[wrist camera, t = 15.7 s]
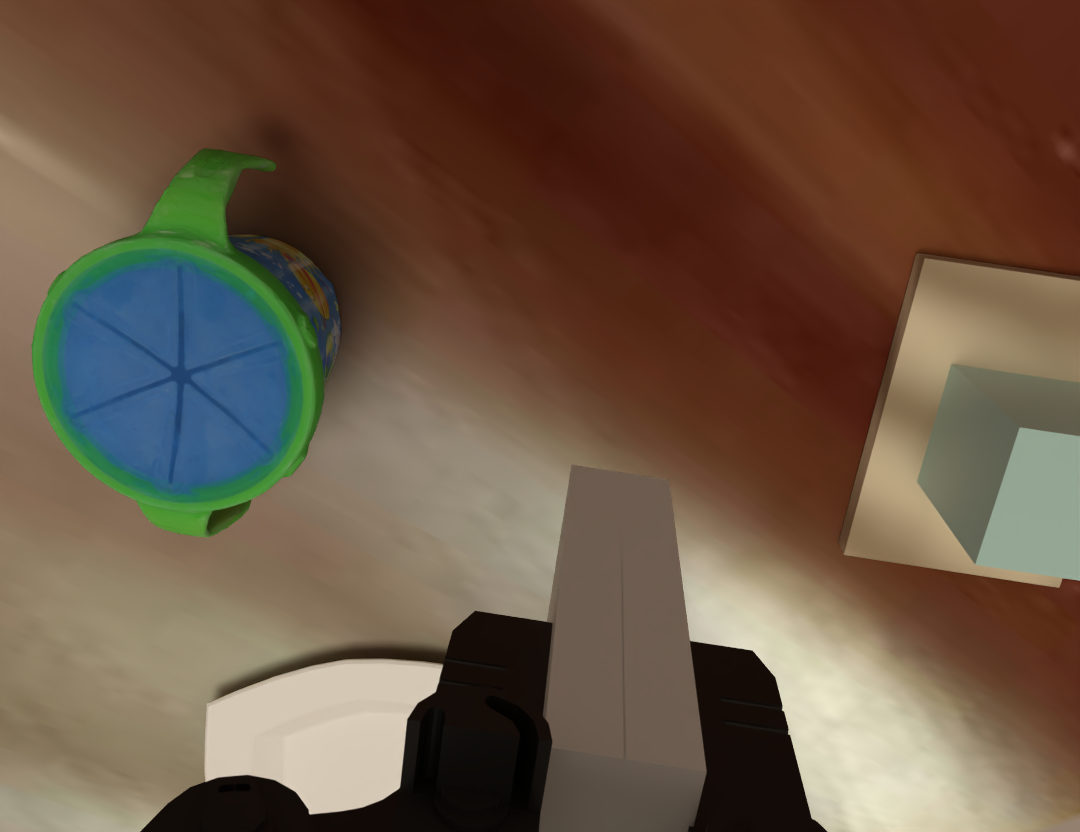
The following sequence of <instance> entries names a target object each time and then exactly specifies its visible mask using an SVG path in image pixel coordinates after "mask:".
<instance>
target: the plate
mask: <svg viewBox="0 0 1080 832" xmlns="http://www.w3.org/2000/svg"><path fill="white" fill-rule="evenodd" d="M442 667H443V664H440V663H432V662H425V661H413V660H399V659H385V658H379V659H344V660H339V661H333V662H328V663H323V664H317V665H312V666H308V667H305V668H301V669H298V670H295V671H291V672H288V673H284V674H281V675H277V676H274V677H272V678H269V679H266V680H264V681H261V682H258V683H255V684H253V685H250V686H247V687H245V688H242V689H239V690H237V691H235V692H232V693H230V694H228V695H225V696H223V697H221V698H218V699H216V700H214V701H211V702H209V703H208V704H207V712H206V729H205V766H204V771H205V782H207V781H209V780H212V779H215V778H218V777H228V776H239V775H251V776H257V777H262V778H267V779H272V780H276V781H277V782H279V783H281V784H283V785H284V786H286V787H288V788H290V789H292V790H293V791H295V792H296V793H297V794H298V796H299V797H300V798H301V800H302V801H303V802H304V804H305V805H306V807H307V808H308V809H309V814H318V813H329V812H339V811H345V810H351V809H356V808H361V807H365V806H367V805H370V804H373V803H375V802H378V801H380V800H383V799H384V798H386V797H387V796H389V795H390V794H392V793H393V792H395V791H396V790H398V789H399V788H400V783H401V774H402V764H403V755H404V745H405V736H406V726H407V719H408V717H409V716H410V714H411V713H412V711H413V710H414V708H415V707H416V705H417V703H419V702H420V701H422V700H423V699H425V698H427V697H428V696H430V695H432V694H433V693H435V692H436V689H437V685H438V684H439V678H440V675H441V671H442Z"/></svg>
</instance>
